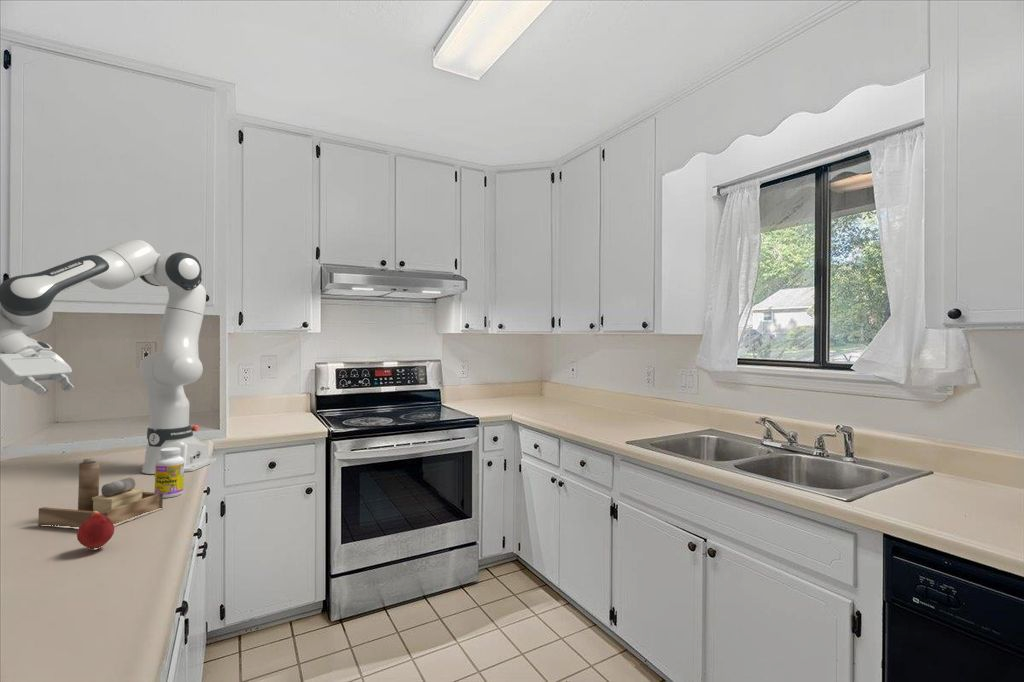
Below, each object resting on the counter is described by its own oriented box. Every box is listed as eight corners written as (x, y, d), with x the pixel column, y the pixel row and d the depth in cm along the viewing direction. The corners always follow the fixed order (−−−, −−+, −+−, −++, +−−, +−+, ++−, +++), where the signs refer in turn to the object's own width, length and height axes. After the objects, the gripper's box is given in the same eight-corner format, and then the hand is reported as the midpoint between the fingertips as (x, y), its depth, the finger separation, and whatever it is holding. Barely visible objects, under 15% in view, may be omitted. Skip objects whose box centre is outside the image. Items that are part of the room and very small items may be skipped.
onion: (109, 542, 107) (110, 504, 107) (117, 549, 103) (118, 510, 103) (73, 550, 102) (74, 511, 103) (80, 558, 99) (81, 517, 99)
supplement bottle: (150, 499, 136) (151, 451, 136) (160, 492, 142) (161, 446, 142) (178, 497, 138) (179, 450, 138) (187, 491, 144) (188, 446, 144)
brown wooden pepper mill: (89, 510, 125) (91, 456, 126) (105, 511, 125) (107, 457, 125) (69, 516, 121) (71, 460, 121) (86, 517, 120) (88, 462, 120)
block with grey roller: (124, 510, 126) (125, 475, 126) (143, 511, 125) (144, 477, 125) (91, 521, 117) (92, 484, 118) (111, 523, 117) (112, 486, 117)
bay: (105, 504, 131) (105, 489, 131) (162, 509, 128) (162, 493, 128) (38, 526, 115) (38, 508, 115) (101, 531, 113) (102, 513, 113)
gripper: (-9, 343, 118) (38, 385, 120) (52, 344, 138) (92, 379, 140) (-32, 362, 117) (16, 404, 119) (33, 360, 138) (73, 395, 139)
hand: (57, 391), depth 130 cm, fingers open, 8 cm apart
